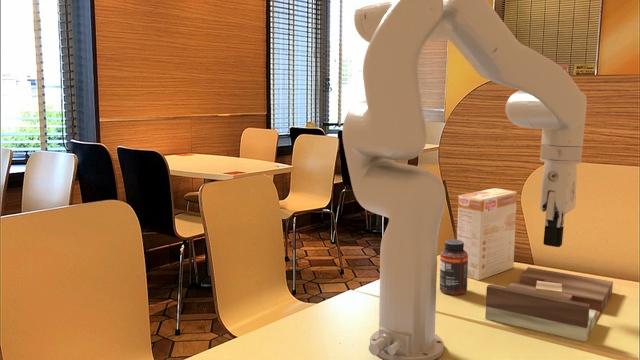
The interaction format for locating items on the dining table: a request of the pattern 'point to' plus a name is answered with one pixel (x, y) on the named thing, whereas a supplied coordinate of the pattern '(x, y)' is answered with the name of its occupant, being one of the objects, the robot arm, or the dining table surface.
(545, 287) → the maple block
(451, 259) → the supplement bottle
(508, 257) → the coffeecake box
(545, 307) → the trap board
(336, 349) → the dining table surface
